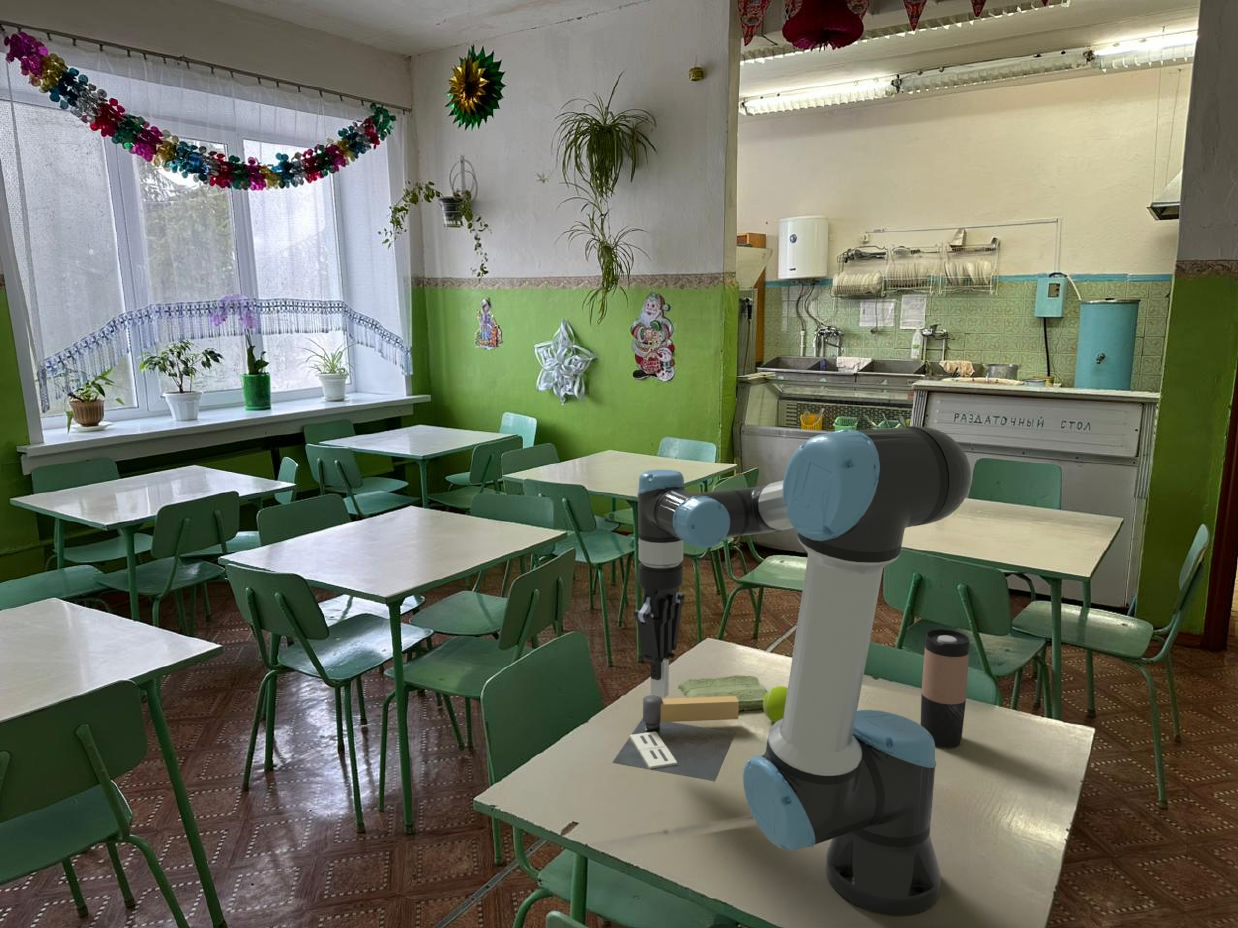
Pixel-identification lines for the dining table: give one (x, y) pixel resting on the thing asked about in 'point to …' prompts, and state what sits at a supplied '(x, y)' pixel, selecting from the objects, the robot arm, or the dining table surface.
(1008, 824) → the dining table surface
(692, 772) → the chassis plate
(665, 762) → the label
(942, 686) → the travel mug
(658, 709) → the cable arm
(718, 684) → the washcloth
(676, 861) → the dining table surface
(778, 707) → the tennis ball
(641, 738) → the label
